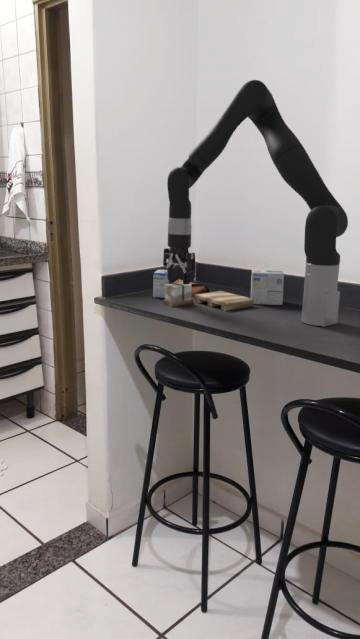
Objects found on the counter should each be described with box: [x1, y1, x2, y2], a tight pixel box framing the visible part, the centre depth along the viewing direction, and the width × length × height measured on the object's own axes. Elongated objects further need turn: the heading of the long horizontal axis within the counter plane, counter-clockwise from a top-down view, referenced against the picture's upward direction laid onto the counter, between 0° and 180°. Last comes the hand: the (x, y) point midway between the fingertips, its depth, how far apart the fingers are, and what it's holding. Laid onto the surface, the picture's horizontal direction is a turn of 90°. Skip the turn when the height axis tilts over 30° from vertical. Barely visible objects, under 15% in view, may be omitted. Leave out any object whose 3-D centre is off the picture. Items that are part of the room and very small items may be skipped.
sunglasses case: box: [171, 278, 210, 298], centre depth 189 cm, size 18×7×7 cm
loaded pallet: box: [162, 282, 195, 308], centre depth 170 cm, size 5×9×7 cm, turn 128°
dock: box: [193, 290, 254, 312], centre depth 170 cm, size 16×12×2 cm
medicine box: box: [152, 269, 170, 299], centre depth 182 cm, size 8×4×9 cm, turn 172°
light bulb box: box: [250, 269, 285, 306], centre depth 173 cm, size 11×7×11 cm, turn 84°
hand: (178, 282), depth 169 cm, fingers open, 8 cm apart
